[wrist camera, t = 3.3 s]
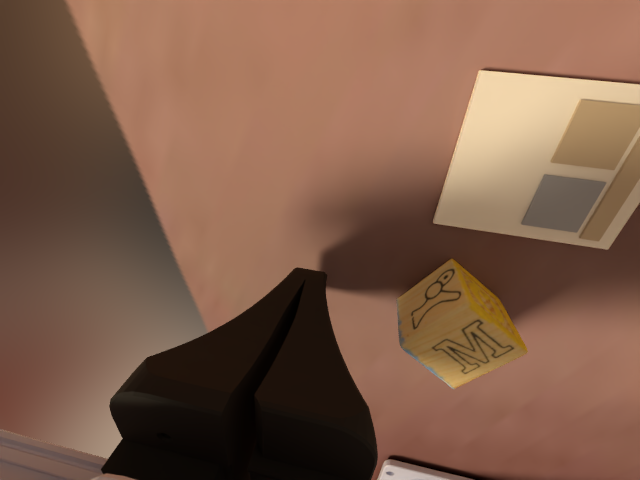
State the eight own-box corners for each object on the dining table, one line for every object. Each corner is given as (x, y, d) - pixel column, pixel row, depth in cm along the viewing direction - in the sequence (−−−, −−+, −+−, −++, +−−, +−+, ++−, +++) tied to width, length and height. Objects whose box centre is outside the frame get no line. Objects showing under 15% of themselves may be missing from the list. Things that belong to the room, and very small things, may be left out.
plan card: (604, 246, 10) (609, 251, 10) (432, 221, 11) (433, 224, 11) (707, 90, 8) (718, 91, 8) (479, 70, 9) (482, 70, 8)
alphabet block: (394, 295, 13) (397, 349, 11) (450, 254, 12) (471, 303, 9) (440, 333, 14) (455, 392, 11) (500, 297, 12) (533, 356, 10)
